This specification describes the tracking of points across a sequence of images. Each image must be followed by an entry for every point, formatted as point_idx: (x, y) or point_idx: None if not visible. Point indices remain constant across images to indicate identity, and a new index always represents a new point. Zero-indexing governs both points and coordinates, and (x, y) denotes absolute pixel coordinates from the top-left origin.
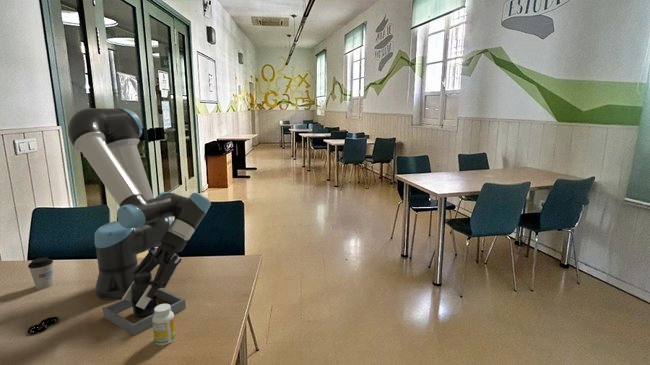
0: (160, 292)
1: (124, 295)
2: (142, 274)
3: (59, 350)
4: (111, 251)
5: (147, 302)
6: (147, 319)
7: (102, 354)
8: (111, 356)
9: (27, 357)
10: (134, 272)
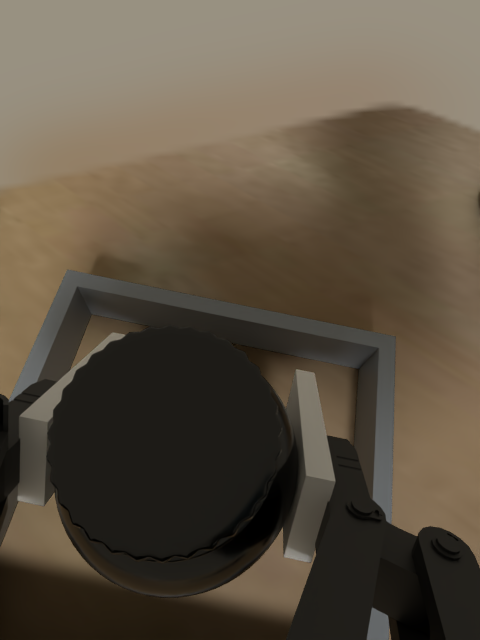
0: None
1: (310, 382)
2: (161, 425)
3: (293, 161)
4: None
5: None
6: (35, 349)
7: (115, 185)
8: (70, 187)
9: (350, 119)
10: (440, 541)
